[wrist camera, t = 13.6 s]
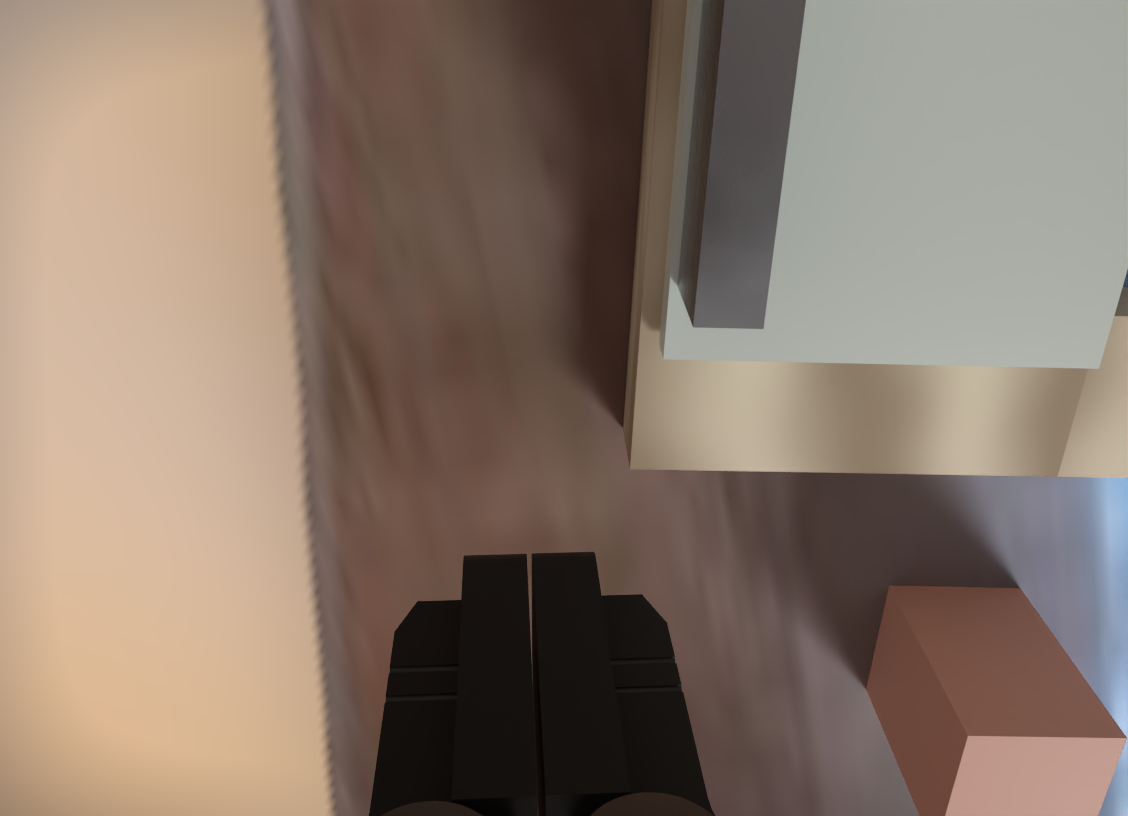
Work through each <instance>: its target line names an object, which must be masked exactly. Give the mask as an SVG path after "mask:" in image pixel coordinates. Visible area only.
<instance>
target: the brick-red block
mask: <svg viewBox="0 0 1128 816" xmlns="http://www.w3.org/2000/svg"><path fill="white" fill-rule="evenodd" d="M866 690H867V692H868V695H869V697H870V699H871V702H872V704H873V706H874V709H875V711H876V714H877V716H878V718H879V721H880V723H881V725H882V728H883V730H884V732H885V735H886V737H887V739H888V742H889V744H890V747H891V749H892V751H893V754H894V756H895V758H896V761H897V763H898V765H899V768H900V770H901V772H902V775H903V777H904V780H905V782H906V784H907V787H908V789H909V791H910V794H911V796H912V798H913V801H914V803H915V806H916V808H917V810H918V813H919V815H920V816H1098V814H1099V811H1100V809H1101V806H1102V803H1103V801H1104V798H1105V795H1106V793H1107V790H1108V787H1109V785H1110V782H1111V779H1112V777H1113V774H1114V771H1115V769H1116V766H1117V763H1118V761H1119V758H1120V756H1121V753H1122V750H1123V748H1124V745H1125V742H1126V740H1127V738H1126V736H1125V735H1124V733H1123V732H1122V731H1121V729H1120V728H1119V726H1118V725H1117V724H1116V722H1115V721H1114V719H1113V718H1112V716H1111V715H1110V714H1109V712H1108V711H1107V709H1106V708H1105V707H1104V705H1103V704H1102V702H1101V701H1100V700H1099V698H1098V697H1097V695H1096V694H1095V693H1094V691H1093V690H1092V688H1091V687H1090V686H1089V684H1088V683H1087V681H1086V680H1085V679H1084V677H1083V676H1082V674H1081V673H1080V672H1079V670H1078V669H1077V667H1076V666H1075V665H1074V663H1073V662H1072V660H1071V659H1070V658H1069V656H1068V655H1067V653H1066V652H1065V650H1064V649H1063V648H1062V646H1061V645H1060V643H1059V642H1058V641H1057V639H1056V638H1055V636H1054V635H1053V634H1052V632H1051V631H1050V629H1049V628H1048V627H1047V625H1046V624H1045V622H1044V621H1043V620H1042V618H1041V617H1040V615H1039V614H1038V613H1037V611H1036V610H1035V608H1034V607H1033V606H1032V604H1031V603H1030V601H1029V600H1028V599H1027V597H1026V596H1025V594H1024V593H1023V591H1022V590H1021V589H1020V588H993V587H945V586H897V585H889V589H888V593H887V598H886V602H885V607H884V611H883V616H882V620H881V625H880V629H879V634H878V638H877V643H876V647H875V652H874V656H873V661H872V665H871V670H870V674H869V679H868V683H867V688H866Z"/></svg>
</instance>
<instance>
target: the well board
mask: <svg viewBox="0 0 1128 816" xmlns="http://www.w3.org/2000/svg"><path fill="white" fill-rule="evenodd" d="M686 9H687V0H652V11H651V26H650V41H649V55H648V70H647V85H646V100H645V114H644V129H643V144H642V159H641V173H640V188H639V203H638V218H637V232H636V247H635V262H634V277H633V291H632V306H631V321H630V336H629V350H628V365H627V380H626V395H625V409H624V424H623V431H624V437H625V443H626V449H627V455H628V460H629V466H630V469H648V470H706V471H763V472H820V473H878V474H935V475H993V476H1050V477H1108V478H1128V287H1122V291H1121V294H1120V298H1119V301H1118V305H1117V308H1116V312H1115V315H1114V319H1113V322H1112V325H1111V329H1110V332H1109V336H1108V339H1107V343H1106V346H1105V350H1104V353H1103V357H1102V360H1101V364H1100V367H1099V369H1084V368H1038V367H992V366H945V365H899V364H853V363H807V362H761V361H714V360H668V359H663V357H662V353H661V350H660V346H659V339H660V327H661V315H662V302H663V290H664V278H665V266H666V253H667V241H668V229H669V217H670V204H671V192H672V180H673V168H674V156H675V143H676V131H677V119H678V107H679V94H680V82H681V70H682V58H683V45H684V33H685V21H686Z"/></svg>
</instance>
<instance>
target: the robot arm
mask: <svg viewBox="0 0 1128 816" xmlns="http://www.w3.org/2000/svg"><path fill="white" fill-rule="evenodd" d="M532 670H533V684H532ZM369 816H715V814H714V813H713V811H712V809H711V806H710V803H709V800H708V796H707V792H706V788H705V784H704V779H703V775H702V771H701V767H700V762H699V758H698V754H697V749H696V745H695V741H694V737H693V732H692V728H691V724H690V720H689V715H688V711H687V707H686V702H685V698H684V694H683V692H682V690H681V681H680V677H679V673H678V668H677V664H675V655H674V651H673V647H672V643H671V638H670V634H669V630H668V626H667V623H666V621H665V620H664V619H663V618H662V617H661V616H660V615H659V613H658V612H657V611H656V610H655V609H654V608H653V607H652V606H651V604H650V603H649V602H648V601H647V600H646V599H645V598H644V596H643V595H608V596H601V590H600V583H599V577H598V570H597V563H596V557H595V553H594V552H571V553H534V554H532V662H531V640H530V618H529V596H528V574H527V555H526V554H506V555H469V556H464V560H463V579H462V599H461V600H448V601H417V603H416V604H415V605H414V607H413V608H412V609H411V611H410V612H409V613H408V615H407V616H406V617H405V619H404V620H403V621H402V623H401V624H400V625H399V627H398V628H397V629H396V631H395V633H394V640H393V647H392V655H391V662H390V673H389V676H388V684H387V691H386V703H385V705H384V712H383V720H382V727H381V734H380V741H379V749H378V756H377V763H376V770H375V777H374V785H373V792H372V799H371V806H370V813H369Z"/></svg>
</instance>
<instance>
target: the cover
mask: <svg viewBox="0 0 1128 816" xmlns="http://www.w3.org/2000/svg"><path fill="white" fill-rule="evenodd" d="M1127 270H1128V0H687V9H686V21H685V33H684V45H683V58H682V70H681V82H680V94H679V107H678V119H677V131H676V143H675V156H674V168H673V180H672V192H671V204H670V217H669V229H668V241H667V253H666V266H665V278H664V290H663V302H662V315H661V327H660V339H659V346H660V350H661V353H662V357H663V359H668V360H714V361H761V362H807V363H853V364H899V365H945V366H992V367H1038V368H1084V369H1099V367H1100V364H1101V360H1102V357H1103V353H1104V350H1105V346H1106V343H1107V339H1108V336H1109V332H1110V329H1111V325H1112V322H1113V319H1114V315H1115V312H1116V308H1117V305H1118V301H1119V298H1120V294H1121V291H1122V287H1123V284H1124V280H1125V277H1126V274H1127Z"/></svg>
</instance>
